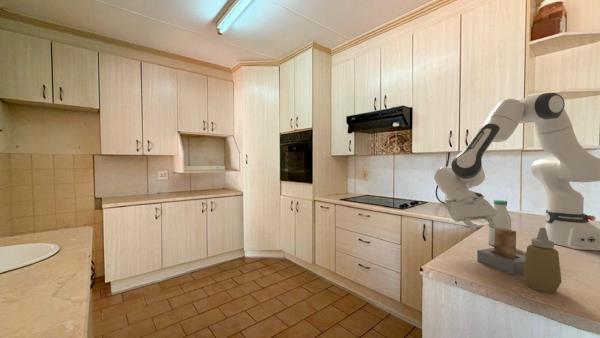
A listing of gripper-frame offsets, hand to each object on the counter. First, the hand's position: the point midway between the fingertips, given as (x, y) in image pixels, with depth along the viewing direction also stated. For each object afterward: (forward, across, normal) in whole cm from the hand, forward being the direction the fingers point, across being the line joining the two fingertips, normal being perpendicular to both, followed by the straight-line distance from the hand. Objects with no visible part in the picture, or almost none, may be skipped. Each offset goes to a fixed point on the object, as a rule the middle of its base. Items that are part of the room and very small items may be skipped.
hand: (485, 228), depth 93 cm
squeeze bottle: (+23, -7, -7) cm, 25 cm away
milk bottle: (+2, +20, +14) cm, 25 cm away
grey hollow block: (+13, 0, +3) cm, 13 cm away
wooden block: (+12, 0, +2) cm, 13 cm away
